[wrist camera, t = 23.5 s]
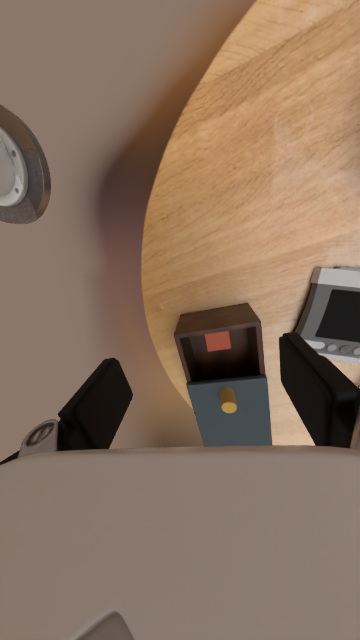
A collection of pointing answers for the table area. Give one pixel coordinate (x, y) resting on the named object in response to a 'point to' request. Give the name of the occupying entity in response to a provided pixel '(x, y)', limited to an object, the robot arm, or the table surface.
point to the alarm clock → (333, 314)
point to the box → (220, 363)
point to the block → (218, 341)
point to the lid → (232, 411)
